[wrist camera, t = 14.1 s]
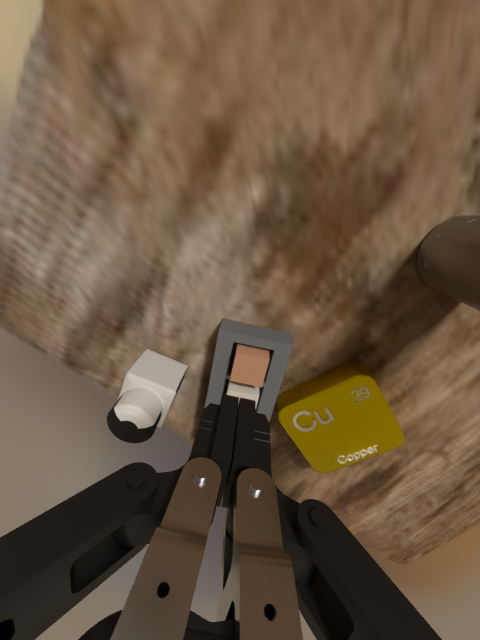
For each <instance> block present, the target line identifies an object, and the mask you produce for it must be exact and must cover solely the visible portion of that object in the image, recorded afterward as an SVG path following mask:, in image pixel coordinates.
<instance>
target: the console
mask: <svg viewBox="0 0 480 640" xmlns="http://www.w3.org/2000/svg"><path fill="white" fill-rule="evenodd" d="M238 343H241V344H246V345H251V346H256V347H260V348H265V349H269V363H268V367H267V371H266V374H265V378H264V381H263V385H262V387H259V399H258V402H257V406H256V410H255V412H256V413H260V414H265V416H266V418H267V419H268V421H269V422H270V419H271V416H272V413H273V409H274V406H275V403H276V400H277V396H278V393H279V390H280V387H281V383H282V380H283V377H284V374H285V370H286V367H287V364H288V361H289V357H290V354H291V351H292V348H293V343H292V338H291V333H289V332H284V331H280V330H275V329H270V328H265V327H261V326H256V325H251V324H247V323H242V322H237V321H232V320H228V319H223V320H222V323H221V326H220V328H219V332H218V338H217V343H216V349H215V354H214V360H213V365H212V370H211V376H210V381H209V387H208V392H207V397H206V403H205V408H206V407H207V406H208V405H209V404H210V403H213V404H217V405H222V401H223V396H224V394H227V389H228V385H229V380H230V377H231V372H232V367H233V362H234V357H235V353H236V348H237V344H238ZM205 408H204V409H205Z"/></svg>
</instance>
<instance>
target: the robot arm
mask: <svg viewBox="0 0 480 640" xmlns="http://www.w3.org/2000/svg"><path fill="white" fill-rule="evenodd" d="M417 270H418V273H419V276H420V277H421V279H422V280H423V281H424V282H425V283H426V284H427V285H428V286H430V287H432V288H434V289H436V290H438V291H440V292H442V293H444V294H446V295H448V296H450V297H452V298H454V299H456V300H458V301H460V302H462V303H464V304H466V305H469V306H471V307H473V308H475V309H477V310H479V311H480V216H459V217H454V218H452V219H449V220H447V221H445V222H443V223H441V224H440V225H438V226H437V227H436V228H434V229H433V230H432V231H431V232H430V233H429V234H428V235H427V237H426V238H425V239H424V241H423V243H422V244H421V246H420V249H419V252H418V255H417ZM238 402H239V404H238ZM255 408H256V401H255V400H250V399H245V398H240V400H239V397H235V396H231V395H226V394H224V396H223V401H222V405H217V404H213V403H210V404H209V405H208V406H207V407H206V408H205V409H204V410H203V413H202V417H201V420H200V423H199V427H198V430H197V434H196V437H195V441H194V444H193V447H192V451H191V455H190V457H189V459H188V461H187V462H186V464H185V465H183V466H182V467H181V468H179V469H178V470H174V471H171V472H163V473H156V471H155V469H154V468H153V467H152V466H150V465H148V464H146V463H132V464H129V465H127V466H125V467H123V468H121V469H119V470H118V471H116V472H115V473H113V474H111V475H109V476H107V477H105V478H104V479H102V480H100V481H98V482H97V483H95V484H93V485H91V486H90V487H88V488H86V489H85V490H83V491H81V492H79V493H77V494H76V495H74V496H72V497H70V498H69V499H67V500H65V501H64V502H62V503H60V504H58V505H57V506H55V507H53V508H51V509H50V510H48V511H46V512H44V513H43V514H41V515H39V516H37V517H36V518H34V519H32V520H30V521H29V522H27V523H25V524H24V525H22V526H20V527H18V528H16V529H15V530H13V531H11V532H9V533H8V534H6V535H4V536H2V537H1V538H0V640H35V639H36V638H37V637H38V636H39V635H40V634H42V633H43V632H44V631H45V630H46V629H48V628H49V627H50V626H51V625H52V624H54V623H55V622H56V621H57V620H58V619H60V618H61V617H62V616H63V615H64V614H66V613H67V612H68V611H69V610H70V609H71V608H73V607H74V606H75V605H76V604H77V603H79V602H80V601H81V600H82V599H84V598H85V597H86V596H87V595H88V594H90V593H91V592H92V591H93V590H94V589H95V588H97V587H98V586H99V585H100V584H101V583H103V582H104V581H105V580H106V579H107V578H109V577H110V576H111V575H112V574H113V573H115V572H116V571H117V570H118V569H119V568H121V567H122V566H123V565H124V564H125V563H127V562H128V561H129V560H130V559H131V558H133V557H134V556H135V555H136V554H137V553H139V552H140V551H141V550H142V549H143V548H144V547H145V546H146V544H149V546H148V549H147V551H146V553H145V556H144V558H143V561H142V563H141V566H140V568H139V571H138V573H137V576H136V578H135V580H134V583H133V585H132V588H131V590H130V593H129V595H128V598H127V600H126V602H125V605H124V607H123V610H120V611H118V612H116V613H114V614H111V615H109V616H108V617H106V618H104V619H103V620H101V621H100V622H98V623H97V624H96V625H94V626H93V627H92V628H90V629H89V630H88V631H87V632H86V633H85V634H84V635H82V636H81V637H80V639H78V640H303V635H302V629H301V622H300V614H299V610H300V612H301V614H302V615H303V617H304V619H305V620H306V622H307V624H308V626H309V627H310V629H311V631H312V632H313V634H314V636H315V637H316V639H317V640H442V639H441V638H440V637H439V636H438V635H437V633H436V632H435V631H434V630H433V629H432V628H431V626H430V625H429V624H428V623H427V622H426V621H425V619H424V618H423V617H422V616H421V615H420V613H419V612H418V611H417V610H416V609H415V607H414V606H413V605H412V604H411V603H410V602H409V601H408V599H407V598H406V597H405V596H404V595H403V594H402V592H401V591H400V590H399V589H398V588H397V586H396V585H395V584H394V583H393V582H392V580H391V579H390V578H389V577H388V576H387V575H386V573H385V572H384V571H383V570H382V569H381V568H380V567H379V565H378V564H377V563H376V562H375V560H374V559H373V558H372V557H371V556H370V555H369V553H368V552H367V551H366V550H365V549H364V548H363V546H362V545H361V544H360V543H359V542H358V541H357V539H356V538H355V537H354V536H353V535H352V533H351V532H350V531H349V530H348V529H347V528H346V526H345V525H344V524H343V523H342V522H341V521H340V519H339V518H338V517H337V516H336V515H335V513H334V512H333V511H332V510H331V509H330V508H329V507H328V506H327V505H325V504H324V503H322V502H320V501H318V500H314V499H308V500H305V501H303V502H302V503H301V504H300V503H298V502H296V501H294V500H293V499H291V498H289V497H287V496H286V495H284V494H283V493H282V492H281V491H280V490H279V489H278V488H277V487H276V485H275V483H274V481H273V479H272V475H271V450H270V423H269V421H268V419H267V418H266V416H265V414H260V413H256V412H255ZM223 492H224V493H223ZM222 496H223V501H222V507H226V508H228V509H227V518H226V523H225V526H224V531H223V549H222V567H221V586H220V587H221V589H220V599H219V606H218V612H217V621H216V622H209V621H207V620H205V619H203V618H202V617H201V616H199V615H197V614H196V613H194V612H192V611H191V610H190V608H191V604H192V600H193V596H194V592H195V587H196V583H197V579H198V575H199V571H200V566H201V562H202V558H203V554H204V550H205V545H206V541H207V537H208V532H209V528H210V526H211V524H212V522H213V517H214V514H215V510H216V506H220V503H221V500H222Z"/></svg>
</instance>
